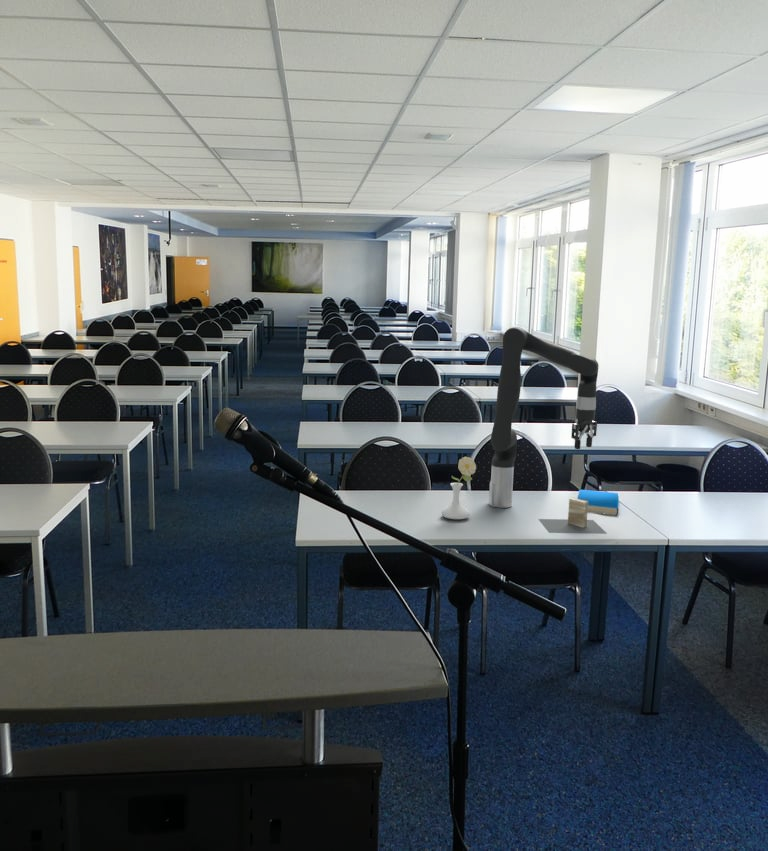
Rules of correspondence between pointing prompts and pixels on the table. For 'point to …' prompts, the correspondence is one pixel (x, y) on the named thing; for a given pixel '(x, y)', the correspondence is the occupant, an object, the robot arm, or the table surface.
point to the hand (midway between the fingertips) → (583, 447)
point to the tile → (578, 512)
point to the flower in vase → (455, 507)
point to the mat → (570, 526)
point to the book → (600, 501)
